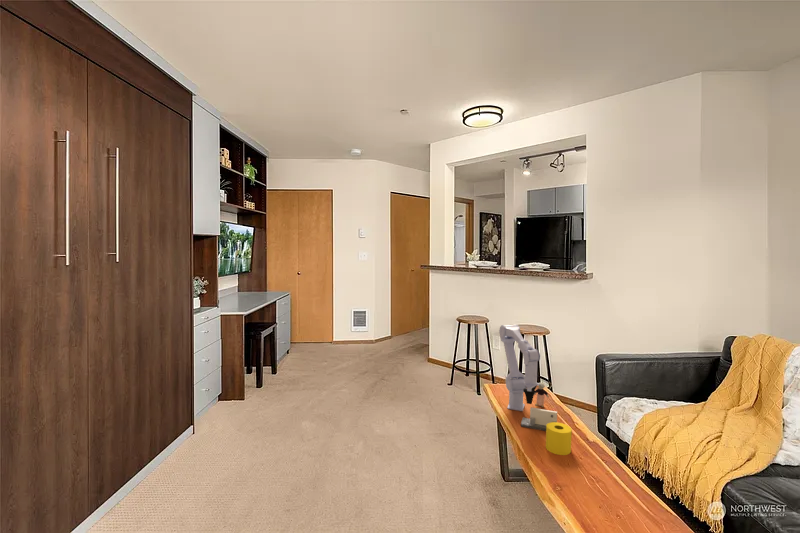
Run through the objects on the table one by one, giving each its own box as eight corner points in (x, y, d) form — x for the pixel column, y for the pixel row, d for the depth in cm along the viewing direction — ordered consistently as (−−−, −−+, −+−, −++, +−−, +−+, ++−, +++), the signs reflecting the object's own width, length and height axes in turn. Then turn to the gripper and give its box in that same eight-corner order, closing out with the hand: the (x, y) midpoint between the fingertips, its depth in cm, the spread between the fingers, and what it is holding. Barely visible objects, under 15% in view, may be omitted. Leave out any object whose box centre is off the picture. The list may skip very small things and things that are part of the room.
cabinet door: (530, 421, 194) (530, 407, 194) (556, 426, 190) (557, 411, 189) (529, 423, 192) (530, 409, 192) (556, 428, 187) (557, 413, 187)
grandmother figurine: (532, 405, 216) (533, 382, 215) (533, 403, 219) (534, 380, 219) (548, 408, 213) (549, 384, 212) (548, 405, 217) (549, 382, 216)
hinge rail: (522, 419, 199) (522, 411, 198) (566, 427, 191) (566, 418, 191) (520, 426, 191) (521, 417, 191) (566, 434, 184) (566, 425, 183)
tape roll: (550, 454, 166) (550, 432, 166) (542, 442, 176) (543, 421, 176) (574, 455, 166) (575, 433, 165) (565, 443, 176) (566, 422, 175)
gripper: (538, 379, 190) (537, 407, 191) (540, 370, 203) (539, 396, 204) (522, 377, 193) (522, 405, 193) (525, 368, 206) (525, 394, 207)
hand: (530, 400), depth 199 cm, fingers open, 7 cm apart
